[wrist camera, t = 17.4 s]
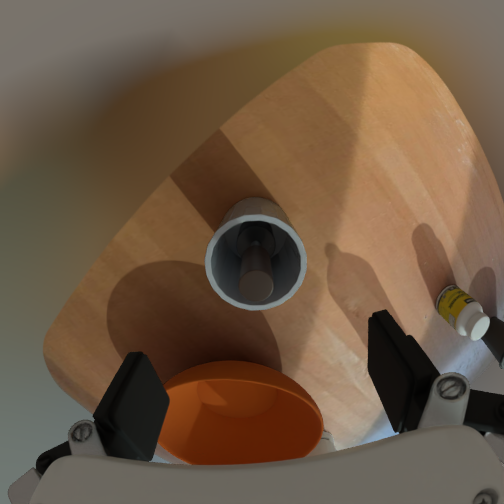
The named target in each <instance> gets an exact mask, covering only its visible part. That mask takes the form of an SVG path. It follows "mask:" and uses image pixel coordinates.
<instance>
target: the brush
mask: <svg viewBox="0 0 504 504" xmlns="http://www.w3.org/2000/svg"><path fill="white" fill-rule="evenodd" d="M275 247H276V242H275V238H274V234H273V230H272V227H271V225H270V224H269V222H265V221H261V220H260V221H245V222H243V223H242V225H241V226H240V229H239V233H238V237H237V241H236V248H237V252H238V254H239V255H240V256H241V258H242V262H241V269H240V276H239V283H238V288H239V291H240V293H241V295H242V296H243V297H244V298H246V299H247V300H250V301H254V302H258V301H262V300H265V299H266V298H268V297H269V296H270V295H271V293H272V291H273V288H274V283H273V276H272V269H271V262H270V257H271V256H272V255H273V253H274V251H275Z"/></svg>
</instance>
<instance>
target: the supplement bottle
mask: <svg viewBox="0 0 504 504" xmlns="http://www.w3.org/2000/svg"><path fill="white" fill-rule="evenodd" d="M436 309H437V312H438V313H439V314H440V315H441V316H442V317H443V318H444V319H445V320H446V321H447V322H448V323H449V324H450V325H451V326H452V327H453V328H454V329H455V330H456V331H457V332H458V333H459V334H461V335H468V337H470V338H471V339H472V340H474V341H476V340H478V339H480V338H481V337H482V336H483V335H484V334H485V333H486V331H487V329H488V327H489V323H490V320H489V317H488V316H487V315H486V314H485V313H483V309H482V306H481V305H480V304H479V303H478V302H477V301H476V300H474V299H473V298H472V297H470V296H469V295H468V294H467V293H465V292H464V291H463V290H461V289H460V288H459V287H457V286H455V285H451V286H448V287H446V288H445V289H444V290H443V291H442V292H441V293H440V294H439V296H438V298H437V302H436Z"/></svg>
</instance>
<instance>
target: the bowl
mask: <svg viewBox="0 0 504 504" xmlns="http://www.w3.org/2000/svg"><path fill="white" fill-rule="evenodd" d="M163 387H164V388H165V390H166V392H167V394H168V395H169V398H170V404H169V407H168V410H167V413H166V416H165V420H164V423H163V426H162V429H161V432H160V435H159V439H158V443H159V444H160V445H161V446H162V447H163V448H164V449H165V450H167V451H168V452H169V453H171V454H172V455H174V456H175V457H177V458H179V459H181V460H183V461H185V462H187V463H189V464H192V465H237V464H253V463H265V462H274V461H283V460H290V459H297V458H303V457H305V456H307V455H308V454H309V453H310V452H311V451H312V450H313V449H314V448H315V447H316V446H317V444H318V443H319V441H320V439H321V437H322V434H323V427H324V425H323V418H322V415H321V413H320V410H319V408H318V406H317V405H316V403H315V401H314V400H313V399H312V397H311V396H310V395H309V394H308V393H307V392H306V391H305V389H303V388H302V387H301V386H300V385H299V384H298V383H296V382H295V381H294V380H292V379H291V378H289V377H288V376H286V375H284V374H282V373H281V372H279V371H277V370H274V369H272V368H269V367H267V366H264V365H260V364H256V363H252V362H246V361H236V360H225V361H215V362H209V363H205V364H201V365H198V366H195V367H192V368H189V369H187V370H185V371H183V372H181V373H179V374H177V375H176V376H174V377H173V378H171V379H170V380H168V381H167V382H166V383H165V384H164V385H163Z"/></svg>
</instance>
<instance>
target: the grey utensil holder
mask: <svg viewBox="0 0 504 504" xmlns="http://www.w3.org/2000/svg"><path fill="white" fill-rule="evenodd" d="M260 220H261V221H265V222H269V224H270V225H271V227H272V230H273V234H274V238H275V242H276V247H275V251H274V253H273V255H272V256H271V257H270V262H271V269H272V276H273V283H274V288H273V291H272V293H271V295H270V296H269V297H268V298H266V299H265V300H262V301H258V302H254V301H250V300H247V299H246V298H244V297H243V296H242V295H241V293H240V291H239V288H238V283H239V276H240V269H241V262H242V258H241V256H240V255H239V254H238V252H237V248H236V241H237V237H238V233H239V229H240V226H241V225H242V223H243V222H245V221H260ZM205 268H206V275H207V277H208V280H209V282H210V284H211V286H212V288H213V289H214V290H215V291H216V292H217V293H218V295H219V296H220V297H221V298H222V299H223V300H225V301H227V302H229V303H230V304H232V305H234V306H236V307H239V308H243V309H247V310H266V309H269V308H272V307H275V306H278V305H280V304H282V303H283V302H285V301H286V300H288V299H289V298H290V297H292V296H293V295H294V293H295V292H296V291H297V290H298V288H299V287H300V286H301V284H302V281H303V279H304V276H305V273H306V269H307V255H306V251H305V248H304V246H303V243H302V240H301V238H300V237H299V235H298V233H297V232H296V230H295V228H294V227H293V225H292V223H291V222H290V220H289V218H288V217H287V215H286V214H285V213H284V211H283V210H282V209H281V208H280V207H279V206H278V205H277V204H276V203H274V202H272V201H271V200H268V199H265V198H260V197H252V198H247V199H243V200H241V201H239V202H237V203H236V204H235V205H233V206H232V207H231V208H230V209H229V210H228V212H227V213H226V215H225V217H224V218H223V220H222V222H221V223H220V225H219V227H218V228H217V230H216V232H215V233H214V235H213V237H212V239H211V240H210V242H209V244H208V246H207V251H206V255H205Z"/></svg>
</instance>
